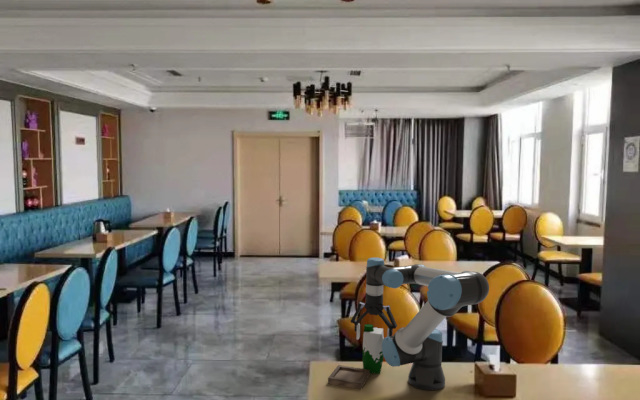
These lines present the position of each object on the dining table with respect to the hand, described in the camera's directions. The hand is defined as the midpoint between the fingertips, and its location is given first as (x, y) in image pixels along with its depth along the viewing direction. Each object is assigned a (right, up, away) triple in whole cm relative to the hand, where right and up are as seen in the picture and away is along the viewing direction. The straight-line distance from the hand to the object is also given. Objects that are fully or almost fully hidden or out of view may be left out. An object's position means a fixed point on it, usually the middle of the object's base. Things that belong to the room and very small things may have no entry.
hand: (373, 341), depth 231 cm
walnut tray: (-11, -14, -9) cm, 20 cm away
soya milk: (0, -13, +1) cm, 13 cm away
